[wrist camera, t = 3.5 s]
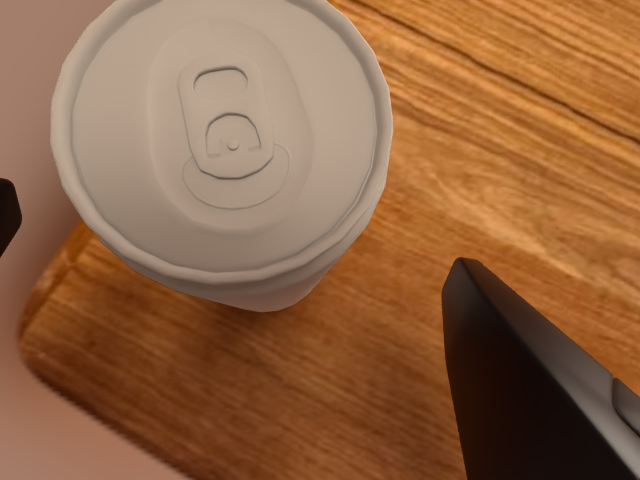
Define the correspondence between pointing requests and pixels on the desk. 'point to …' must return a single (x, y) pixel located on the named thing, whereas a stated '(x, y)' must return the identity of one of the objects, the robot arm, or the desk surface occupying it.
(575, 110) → the desk surface
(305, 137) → the beverage can
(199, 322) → the desk surface
